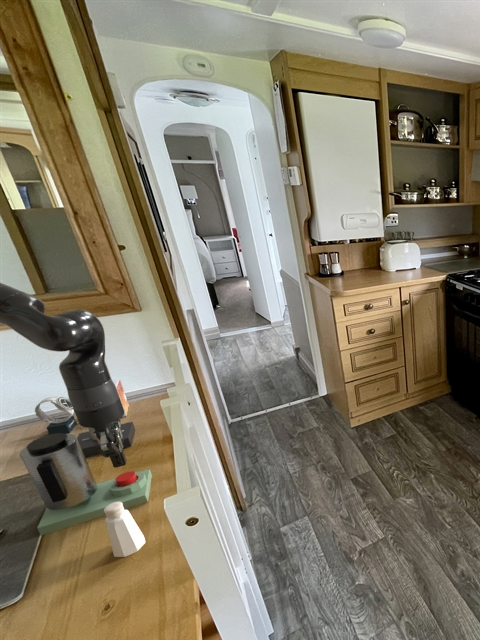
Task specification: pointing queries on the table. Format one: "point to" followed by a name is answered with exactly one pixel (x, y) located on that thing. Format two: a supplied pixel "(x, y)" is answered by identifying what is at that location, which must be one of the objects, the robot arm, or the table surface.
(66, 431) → the watch
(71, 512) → the kettle base
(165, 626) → the table surface
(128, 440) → the dial panel
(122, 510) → the salt shaker
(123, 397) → the small box
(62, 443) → the kettle
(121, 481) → the kettle switch
